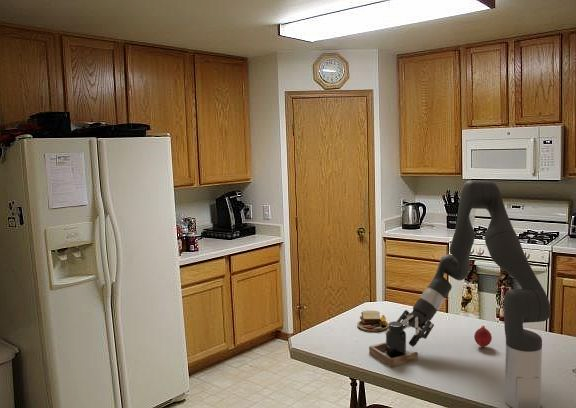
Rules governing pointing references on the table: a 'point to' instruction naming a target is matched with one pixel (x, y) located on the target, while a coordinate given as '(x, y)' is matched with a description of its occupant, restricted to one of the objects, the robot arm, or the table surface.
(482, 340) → the onion
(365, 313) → the toy sandwich meal
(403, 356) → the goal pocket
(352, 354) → the table surface
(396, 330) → the supplement bottle
